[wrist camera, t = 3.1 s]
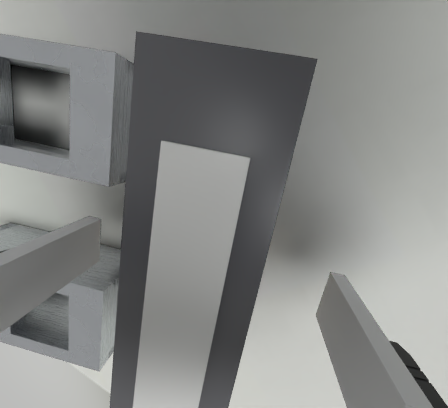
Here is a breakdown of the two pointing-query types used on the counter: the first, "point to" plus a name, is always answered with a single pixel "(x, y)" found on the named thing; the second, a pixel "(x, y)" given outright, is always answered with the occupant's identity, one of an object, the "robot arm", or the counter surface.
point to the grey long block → (199, 213)
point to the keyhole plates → (80, 170)
